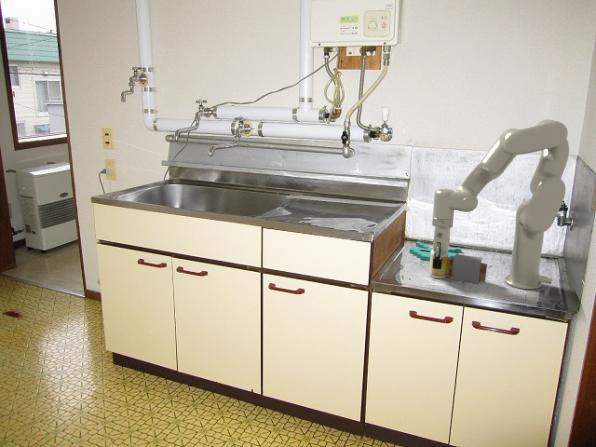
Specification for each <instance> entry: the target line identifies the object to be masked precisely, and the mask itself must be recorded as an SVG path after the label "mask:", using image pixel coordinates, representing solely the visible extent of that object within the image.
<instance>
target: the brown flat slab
mask: <svg viewBox="0 0 596 447" xmlns="http://www.w3.org/2000/svg"><path fill="white" fill-rule="evenodd" d="M453 261H454V259H449V258H448V263H447V273H446V277H448V278H452V272H453ZM487 268H488V263H485V262H484V263H483V262H481V265H480V274H479V283H486V277H487ZM446 277H445V278H446Z"/></svg>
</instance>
